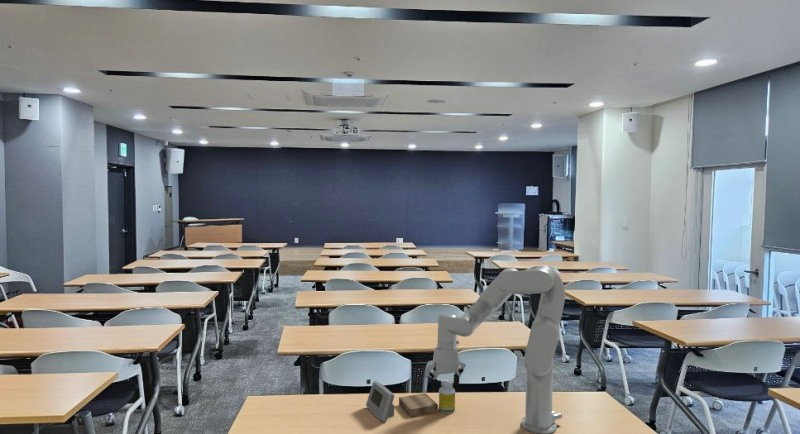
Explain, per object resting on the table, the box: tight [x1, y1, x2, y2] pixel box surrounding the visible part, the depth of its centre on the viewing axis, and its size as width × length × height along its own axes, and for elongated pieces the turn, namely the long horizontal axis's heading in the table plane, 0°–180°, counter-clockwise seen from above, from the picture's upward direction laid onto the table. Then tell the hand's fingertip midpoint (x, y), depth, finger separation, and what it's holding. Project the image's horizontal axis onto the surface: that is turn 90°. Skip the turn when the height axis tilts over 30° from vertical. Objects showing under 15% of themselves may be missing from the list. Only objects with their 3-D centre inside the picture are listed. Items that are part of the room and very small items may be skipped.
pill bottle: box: [438, 379, 456, 414], centre depth 185 cm, size 6×6×12 cm
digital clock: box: [365, 380, 395, 423], centre depth 182 cm, size 16×9×11 cm, turn 17°
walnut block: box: [398, 392, 439, 418], centre depth 187 cm, size 12×12×3 cm
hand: (445, 386), depth 185 cm, fingers open, 9 cm apart
